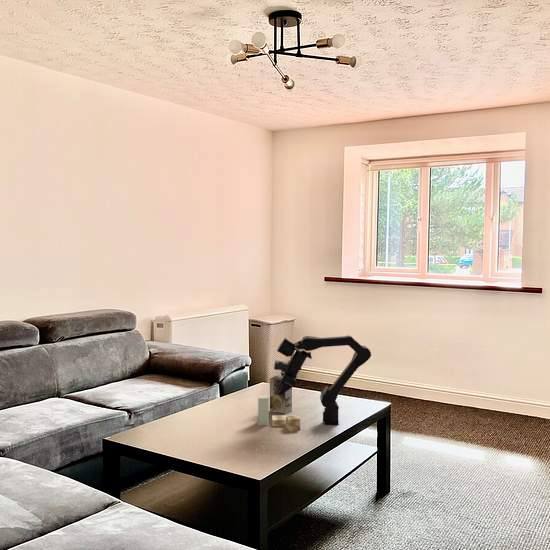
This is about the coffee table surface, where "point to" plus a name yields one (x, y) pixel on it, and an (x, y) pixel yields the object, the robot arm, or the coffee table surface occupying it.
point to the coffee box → (279, 397)
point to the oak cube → (293, 422)
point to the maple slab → (279, 420)
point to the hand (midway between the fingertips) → (279, 392)
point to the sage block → (263, 410)
